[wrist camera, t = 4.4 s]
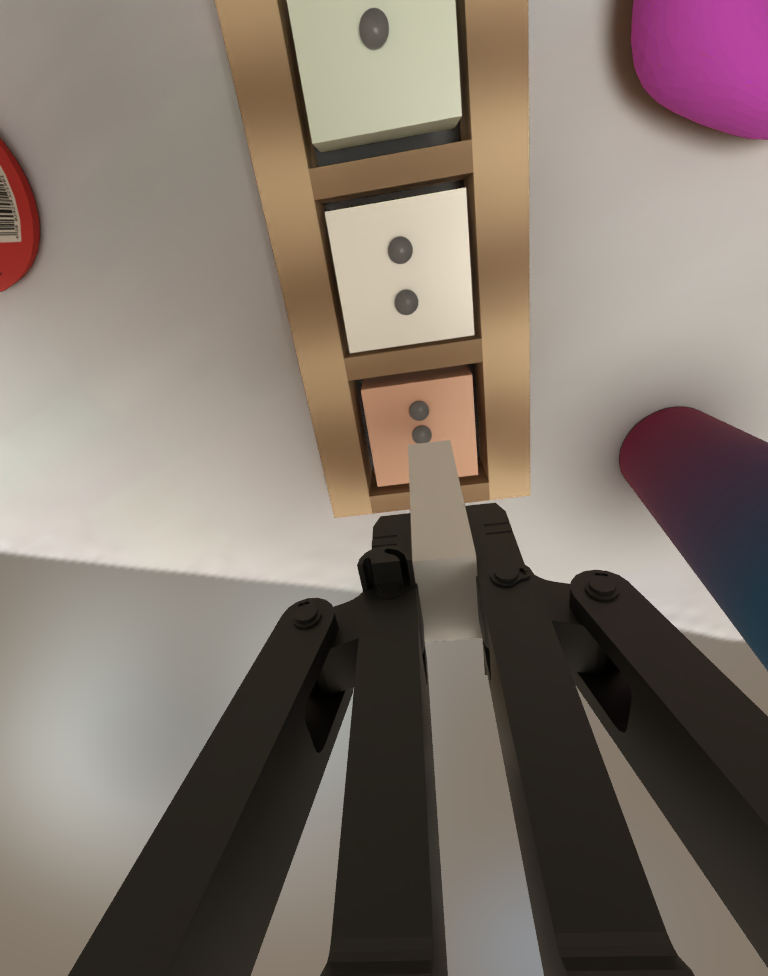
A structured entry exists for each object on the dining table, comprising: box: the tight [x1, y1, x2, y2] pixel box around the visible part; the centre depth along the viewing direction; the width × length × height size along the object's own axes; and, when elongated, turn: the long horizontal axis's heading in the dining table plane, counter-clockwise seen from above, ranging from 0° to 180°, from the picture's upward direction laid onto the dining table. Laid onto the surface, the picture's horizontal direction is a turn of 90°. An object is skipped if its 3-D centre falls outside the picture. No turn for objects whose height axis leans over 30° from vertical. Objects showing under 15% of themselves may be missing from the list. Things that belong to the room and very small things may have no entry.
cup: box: [619, 407, 768, 671], centre depth 19 cm, size 7×7×15 cm
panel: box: [215, 0, 530, 518], centre depth 21 cm, size 22×10×3 cm, turn 8°
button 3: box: [361, 364, 478, 487], centre depth 23 cm, size 5×5×2 cm
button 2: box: [325, 187, 474, 353], centre depth 19 cm, size 5×5×2 cm
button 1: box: [287, 0, 462, 153], centre depth 15 cm, size 5×5×2 cm
